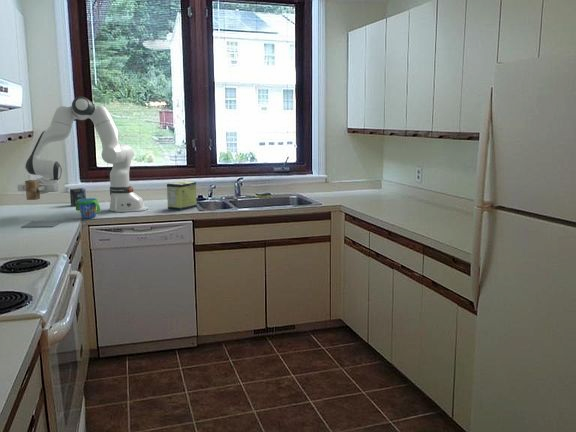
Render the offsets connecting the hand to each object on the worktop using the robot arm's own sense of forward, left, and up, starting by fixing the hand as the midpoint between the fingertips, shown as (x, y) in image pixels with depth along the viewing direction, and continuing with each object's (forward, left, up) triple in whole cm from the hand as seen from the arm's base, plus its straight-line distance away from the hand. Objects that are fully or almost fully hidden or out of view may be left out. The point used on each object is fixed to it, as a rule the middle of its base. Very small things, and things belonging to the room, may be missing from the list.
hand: (31, 189), depth 299 cm
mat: (-7, +8, -18) cm, 21 cm away
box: (-6, -53, -18) cm, 57 cm away
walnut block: (0, -1, -5) cm, 6 cm away
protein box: (-73, -40, -18) cm, 85 cm away
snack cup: (-25, -12, -18) cm, 33 cm away
